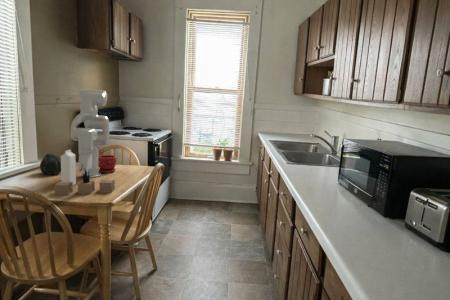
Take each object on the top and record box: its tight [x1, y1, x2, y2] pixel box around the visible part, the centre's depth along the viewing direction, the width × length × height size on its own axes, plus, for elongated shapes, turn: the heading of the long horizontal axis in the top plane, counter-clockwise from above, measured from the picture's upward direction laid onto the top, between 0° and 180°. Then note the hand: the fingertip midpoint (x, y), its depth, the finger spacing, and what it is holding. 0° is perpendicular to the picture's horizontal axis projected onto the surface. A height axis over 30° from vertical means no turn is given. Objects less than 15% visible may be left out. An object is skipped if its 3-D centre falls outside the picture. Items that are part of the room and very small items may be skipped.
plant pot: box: [99, 154, 117, 174], centre depth 227 cm, size 13×13×12 cm
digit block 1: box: [54, 181, 74, 196], centre depth 173 cm, size 7×7×6 cm
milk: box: [60, 149, 77, 186], centre depth 188 cm, size 6×6×22 cm
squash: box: [39, 153, 61, 176], centre depth 212 cm, size 14×15×15 cm
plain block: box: [77, 179, 96, 195], centre depth 178 cm, size 7×7×6 cm
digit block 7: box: [98, 179, 116, 193], centre depth 183 cm, size 7×7×6 cm
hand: (86, 182), depth 177 cm, fingers closed
